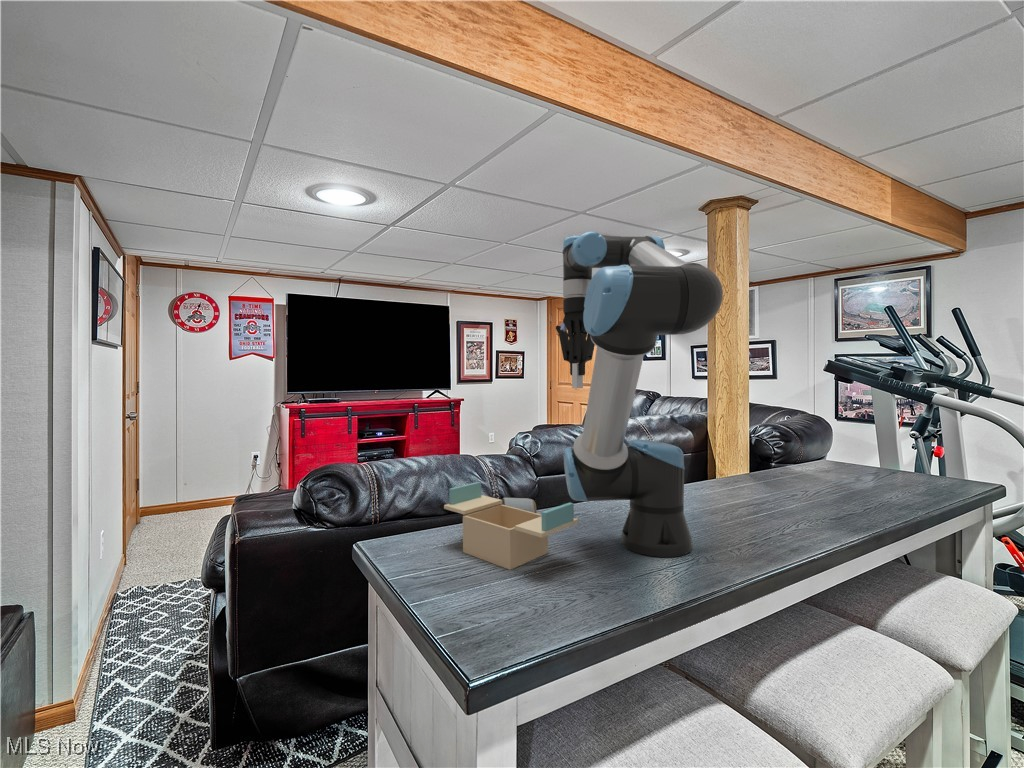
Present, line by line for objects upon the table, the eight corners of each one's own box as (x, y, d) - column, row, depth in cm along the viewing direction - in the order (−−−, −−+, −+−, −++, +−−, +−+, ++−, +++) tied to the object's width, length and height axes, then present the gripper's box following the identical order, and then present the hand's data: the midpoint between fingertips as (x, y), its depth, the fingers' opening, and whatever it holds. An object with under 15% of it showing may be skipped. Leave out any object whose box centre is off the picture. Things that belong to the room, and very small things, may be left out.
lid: (502, 503, 117) (502, 485, 117) (464, 514, 109) (464, 494, 108) (481, 498, 122) (481, 480, 122) (444, 508, 113) (443, 489, 113)
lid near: (578, 522, 103) (578, 502, 102) (541, 537, 94) (541, 515, 94) (552, 516, 107) (552, 496, 107) (514, 529, 99) (514, 508, 98)
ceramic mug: (538, 531, 122) (537, 500, 122) (504, 533, 121) (504, 502, 121) (529, 519, 133) (529, 490, 133) (498, 521, 131) (498, 491, 131)
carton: (548, 552, 108) (548, 516, 108) (510, 569, 100) (509, 530, 99) (501, 538, 118) (501, 504, 118) (463, 552, 109) (462, 515, 109)
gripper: (606, 296, 130) (606, 388, 131) (566, 301, 138) (566, 386, 139) (590, 294, 124) (590, 389, 125) (549, 298, 133) (549, 387, 134)
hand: (577, 388), depth 132 cm, fingers closed
